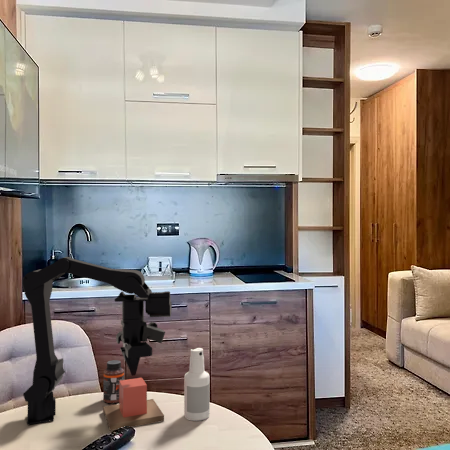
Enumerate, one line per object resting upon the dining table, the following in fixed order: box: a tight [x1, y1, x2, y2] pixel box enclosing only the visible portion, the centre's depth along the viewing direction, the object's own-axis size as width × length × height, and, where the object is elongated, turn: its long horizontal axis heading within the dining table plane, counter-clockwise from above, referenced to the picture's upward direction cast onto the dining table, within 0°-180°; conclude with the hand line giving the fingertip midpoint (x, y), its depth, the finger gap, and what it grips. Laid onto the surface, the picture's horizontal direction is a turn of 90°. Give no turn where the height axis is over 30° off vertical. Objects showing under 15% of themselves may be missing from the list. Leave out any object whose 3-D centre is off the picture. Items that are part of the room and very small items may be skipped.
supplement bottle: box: [102, 359, 125, 404], centre depth 130 cm, size 6×6×11 cm
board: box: [102, 398, 165, 431], centre depth 119 cm, size 14×12×2 cm
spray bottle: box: [183, 347, 211, 422], centre depth 119 cm, size 7×7×18 cm
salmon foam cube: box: [118, 377, 148, 417], centre depth 119 cm, size 6×6×8 cm
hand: (133, 375), depth 119 cm, fingers closed
